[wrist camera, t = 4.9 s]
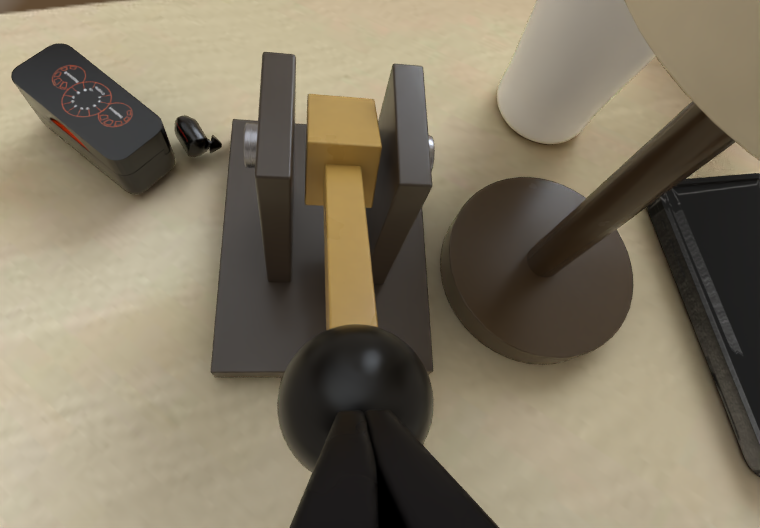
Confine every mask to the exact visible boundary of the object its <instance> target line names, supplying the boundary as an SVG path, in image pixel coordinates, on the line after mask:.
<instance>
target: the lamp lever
mask: <svg viewBox="0 0 760 528" xmlns="http://www.w3.org/2000/svg"><path fill="white" fill-rule="evenodd" d="M381 150H382V144H381V138H380V132H379V125H378V119H377V113H376V107H375V101H374V99H366V98H353V97H341V96H329V95H316V94H308V100H307V126H306V151H305V205H317V206H324V252H325V297H326V331H324V332H322V333H320V334H318V335H316V336H315V337H314V338H312V339H311V340H309V341H308V342H307V343H306V344H305V345H303V346H302V347H301V348H300V349H299V351H298V352H297V353H296V354H295V355H294V357H293V358H292V360H291V361H290V363H289V364H288V366H287V368H286V370H285V373H284V375H283V377H282V380H281V384H280V387H279V394H278V402H277V408H278V418H279V424H280V428H281V432H282V435H283V437H284V439H285V441H286V443H287V445H288V447H289V449H290V450H291V452H292V453H293V455H294V456H295V458H296V459H297V460H298V461H299V462H300V463H301V464H302V465H303V466H304V467H306V468H307V469H308V470H309V471H311V472H313V470H314V468H315V465H316V463H317V460H318V458H319V456H320V453H321V451H322V448H323V446H324V444H325V441H326V439H327V436H328V434H329V432H330V429H331V427H332V424H333V422H334V420H335V417H336V415H337V413H338V412H339V411H342V410H361V411H363V413H365V411H367V410H377V409H387V410H390V411H391V412H392V413H393V414H394V415H395V416H396V417H397V418H398V419H399V420H400V421H401V422H402V423H403V424H404V426H405V427H406V428H407V429H408V430H409V431H410V432H411V433H412V434H413V435H414V436H415V437H416V438H417V440H418V441H419V442H420V443H421V444H422V445H423V443H424V441H425V439H426V438H427V435H428V432H429V429H430V426H431V422H432V416H433V391H432V387H431V383H430V379H429V376H428V373H427V371H426V369H425V367H424V365H423V363H422V361H421V360H420V358H419V357H418V355H417V354H416V353H415V351H414V350H413V349H412V348H411V347H410V346H409V345H408V344H406V343H405V342H404V341H403V340H402V339H400V338H399V337H397V336H396V335H394V334H392V333H391V332H389V331H386V330H384V329H381V328H378V321H377V311H376V302H375V292H374V283H373V274H372V264H371V255H370V246H369V236H368V227H367V218H366V208H372V205H373V199H374V193H375V187H376V181H377V175H378V169H379V163H380V156H381Z"/></svg>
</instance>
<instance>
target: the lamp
mask: <svg viewBox="0 0 760 528" xmlns="http://www.w3.org/2000/svg"><path fill="white" fill-rule="evenodd" d="M624 1H625V3H626V5H627V7H628V9H629V11H630V13H631V15H632V17H633V19H634V21H635V23H636V25H637V27H638V29H639V31H640V33H641V34H642V36H643V37H644V39H645V40H646V42H647V44H648V45H649V47H650V48H651V50H652V51H653V53H654V54H655V56H656V57H657V59H658V60H659V62H660V63H661V64H662V66H663V67H664V68H665V69H666V71H667V72H668V73H669V74H670V76H671V77H672V78H673V79H674V81H675V82H676V83H677V84H678V85H679V87H680V88H681V89H682V90H683V92H684V93H685V94H686V95H687V96H688V97H689V98H690V99H691V100H692V102H691V103H690V104H689V105H688V106H687V107H686V108H684V109H683V110H682V111H681V112H680V113H679V114H678V115H677V116H676V117H675V118H673V119H672V120H671V121H670V122H669V123H668V124H667V125H666V126H665V127H664V128H663V129H661V130H660V131H659V132H658V133H657V134H656V135H655V136H654V137H653V138H652V139H651V140H649V141H648V142H647V143H646V144H645V145H644V146H643V147H642V148H641V149H640V150H638V151H637V152H636V153H635V154H634V155H633V156H632V157H631V158H630V159H629V160H628V161H626V162H625V163H624V164H623V165H622V166H621V167H620V168H619V169H618V170H617V171H616V172H614V173H613V174H612V175H611V176H610V177H609V178H608V179H607V180H606V181H605V182H603V183H602V184H601V185H600V186H599V187H598V188H597V189H596V190H595V191H594V192H593V193H591V194H590V195H589V196H588V197H587V198H585V197H584V196H582V195H581V194H579V193H577V192H576V191H574V190H572V189H570V188H568V187H566V186H564V185H561V184H558V183H556V182H553V181H549V180H545V179H540V178H531V177H518V178H510V179H505V180H501V181H498V182H495V183H493V184H490V185H488V186H486V187H485V188H483V189H481V190H480V191H478V192H477V193H476V194H475V195H473V196H472V197H471V198H470V199H469V200H468V201H467V202H466V204H465V205H464V206H463V207H462V209H461V210H460V212H459V214H458V215H457V217H456V218H455V220H454V221H453V223H452V224H451V226H450V227H449V229H448V231H447V234H446V236H445V238H444V242H443V246H442V251H441V258H440V265H441V277H442V283H443V286H444V290H445V293H446V296H447V298H448V301H449V303H450V305H451V307H452V309H453V310H454V312H455V314H456V316H457V317H458V318H459V320H460V321H461V322H462V324H463V325H464V326H465V328H466V329H467V330H468V331H469V332H470V333H471V334H472V335H473V336H474V337H475V338H477V339H478V340H479V341H480V342H481V343H483V344H484V345H485V346H487V347H488V348H490V349H492V350H493V351H495V352H497V353H499V354H501V355H503V356H505V357H507V358H510V359H513V360H516V361H520V362H524V363H529V364H542V365H543V364H555V363H560V362H564V361H567V360H570V359H572V358H575V357H578V356H580V355H583V354H585V353H588V352H590V351H593V350H595V349H596V348H598V347H600V346H602V345H603V344H604V343H606V342H607V341H608V340H609V339H610V338H612V337H613V335H614V334H615V333H616V332H617V331H618V330H619V328H620V327H621V325H622V323H623V322H624V320H625V318H626V316H627V313H628V311H629V308H630V304H631V300H632V294H633V274H632V267H631V262H630V259H629V256H628V252H627V250H626V247H625V245H624V243H623V241H622V239H621V237H620V235H619V233H618V232H617V230H616V229H618V228H619V227H620V226H622V225H623V224H624V223H626V222H627V221H628V220H630V219H631V218H633V217H634V216H635V215H637V214H638V213H639V212H641V211H642V210H643V209H645V208H646V207H648V206H649V205H650V204H652V203H653V202H654V201H656V200H657V199H658V198H660V197H661V196H663V195H664V194H665V193H667V192H668V191H669V190H671V189H672V188H673V187H675V186H676V185H678V184H679V183H680V182H682V181H683V180H684V179H686V178H687V177H688V176H690V175H691V174H692V173H694V172H695V171H697V170H698V169H699V168H701V167H702V166H703V165H705V164H706V163H707V162H709V161H710V160H712V159H713V158H714V157H716V156H717V155H718V154H720V153H721V152H722V151H724V150H725V149H727V148H728V147H729V146H731V145H732V144H733V143H735V142H737V143H738V144H739V145H740V146H741V147H742V148H744V149H745V150H746V151H747V152H748V153H750V154H751V155H753V156H754V157H755V158H757V159H758V160H760V0H624Z"/></svg>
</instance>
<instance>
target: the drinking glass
mask: <svg viewBox="0 0 760 528" xmlns="http://www.w3.org/2000/svg"><path fill="white" fill-rule="evenodd" d="M655 57H656V56H655V54H654V53H653V51H652V50H651V48H650V47H649V45H648V44H647V42H646V40H645V39H644V37H643V36H642V34H641V33H640V31H639V29H638V27H637V25H636V23H635V21H634V19H633V17H632V15H631V13H630V11H629V9H628V7H627V5H626V3H625V1H624V0H536V2H535V4H534V7H533V9H532V12H531V14H530V16H529V19H528V21H527V24H526V26H525V28H524V31H523V33H522V35H521V38H520V40H519V42H518V45H517V47H516V49H515V52H514V54H513V56H512V59H511V61H510V63H509V65H508V66H507V68H506V70H505V72H504V74H503V76H502V78H501V80H500V82H499V85H498V89H497V103H498V107H499V110H500V113H501V115H502V116H503V118H504V120H505V121H506V122H507V124H508V125H509V126H510V127H511V128H512V129H513V130H514V131H515V132H517V133H518V134H520V135H521V136H523V137H525V138H527V139H529V140H531V141H534V142H538V143H543V144H557V143H562V142H565V141H568V140H570V139H572V138H573V137H575V136H576V135H578V134H579V133H580V132H581V131H582V130H583V129H584V128H585V127H586V125H587V124H588V123H589V122H590V121H591V120H592V118H593V117H594V116H595V115H596V114H597V113H598V112H599V111H600V110H601V109H602V108H603V107H604V106H605V105H606V104H607V103H608V102H609V101H610V100H611V99H612V98H613V97H614V96H615V95H616V94H617V93H618V92H619V91H620V90H621V89H622V88H624V87H625V86H626V85H627V84H628V83H629V82H630V81H631V80H632V79H633V78H634V77H635V76H636V75H637V74H638V73H639V72H640V71H641V70H642V69H643V68H644V67H645V66H647V65H648V64H649V63H650V62H651V61H652V60H653V59H654V58H655Z"/></svg>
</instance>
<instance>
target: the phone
mask: <svg viewBox="0 0 760 528" xmlns="http://www.w3.org/2000/svg"><path fill="white" fill-rule="evenodd" d="M647 208H648V212H649V214H650V217H651V219H652V222H653V225H654V227H655V230H656V232H657V235H658V237H659V240H660V243H661V245H662V248H663V250H664V253H665V255H666V258H667V260H668V263H669V266H670V268H671V271H672V273H673V276H674V278H675V281H676V284H677V286H678V289H679V291H680V294H681V296H682V299H683V301H684V304H685V307H686V309H687V312H688V314H689V317H690V319H691V322H692V325H693V327H694V330H695V332H696V335H697V337H698V340H699V342H700V345H701V348H702V350H703V353H704V355H705V358H706V360H707V363H708V365H709V368H710V371H711V373H712V376H713V378H714V381H715V383H716V386H717V388H718V391H719V394H720V396H721V399H722V401H723V404H724V406H725V409H726V411H727V414H728V417H729V419H730V422H731V424H732V427H733V429H734V432H735V434H736V437H737V440H738V442H739V445H740V447H741V450H742V452H743V455H744V457H745V460H746V461H747V463H748V465H749V467H750V468H751V469H752V470H753V472H754V473H755V474H757V475H758V476H759V477H760V174H759V173H753V174H741V175H729V176H717V177H705V178H693V179H684V180H683V181H682V182H680V183H679V184H678V185H676V186H675V187H673V188H672V189H671V190H669V191H668V192H667V193H665V194H664V195H663V196H661V197H660V198H658V199H657V200H656V201H654V202H653V203H652V204H650V205H649V206H648V207H647Z"/></svg>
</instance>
